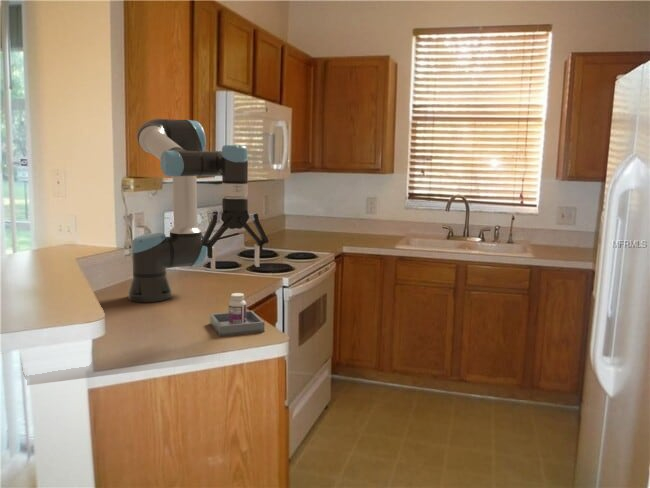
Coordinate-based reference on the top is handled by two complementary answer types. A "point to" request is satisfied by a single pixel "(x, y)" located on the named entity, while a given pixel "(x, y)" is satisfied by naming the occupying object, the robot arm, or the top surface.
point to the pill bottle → (237, 309)
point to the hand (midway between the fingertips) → (235, 267)
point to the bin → (224, 329)
